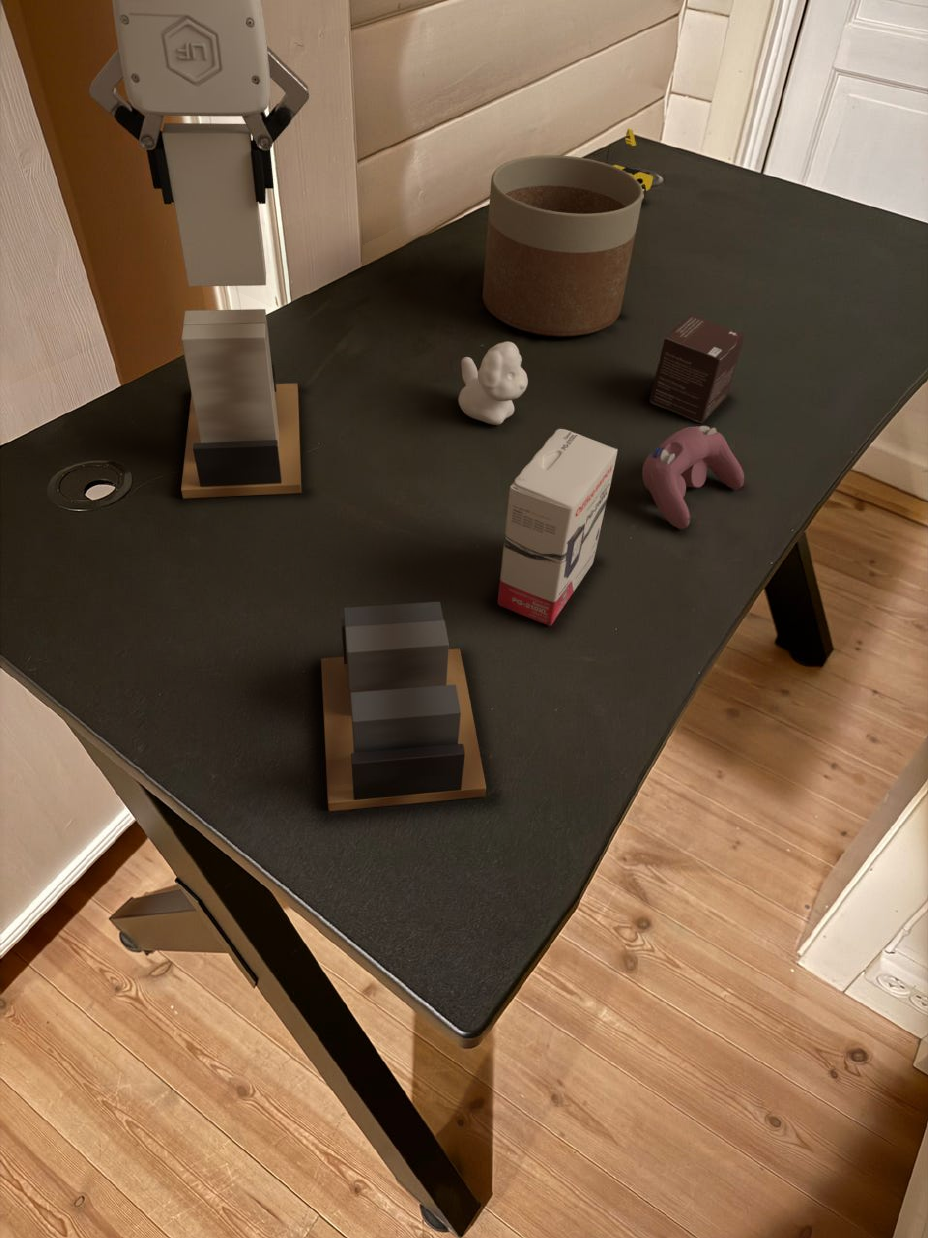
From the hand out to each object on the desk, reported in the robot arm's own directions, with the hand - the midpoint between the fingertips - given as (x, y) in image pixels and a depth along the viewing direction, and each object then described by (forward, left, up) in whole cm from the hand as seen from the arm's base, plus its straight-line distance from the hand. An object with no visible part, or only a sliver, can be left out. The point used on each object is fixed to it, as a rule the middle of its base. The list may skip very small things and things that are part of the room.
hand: (216, 195), depth 72 cm
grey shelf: (+11, -39, -20) cm, 45 cm away
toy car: (+49, +48, -20) cm, 71 cm away
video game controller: (+39, -16, -20) cm, 47 cm away
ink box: (+24, -26, -20) cm, 41 cm away
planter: (+34, +19, -20) cm, 44 cm away
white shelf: (0, -5, -20) cm, 21 cm away
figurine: (+23, -2, -20) cm, 31 cm away
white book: (0, 0, -7) cm, 7 cm away
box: (+44, -1, -20) cm, 48 cm away
